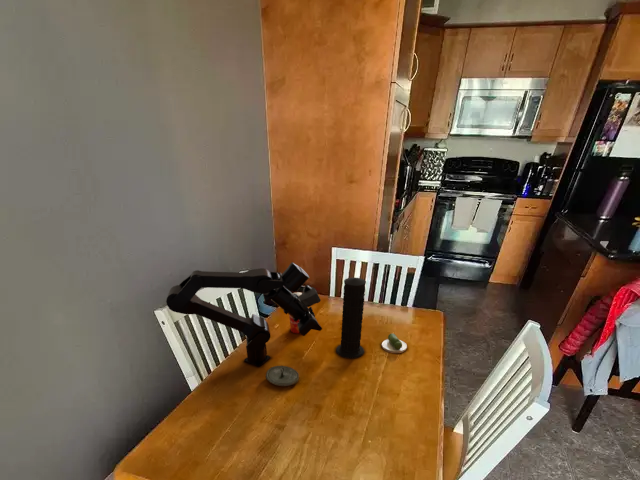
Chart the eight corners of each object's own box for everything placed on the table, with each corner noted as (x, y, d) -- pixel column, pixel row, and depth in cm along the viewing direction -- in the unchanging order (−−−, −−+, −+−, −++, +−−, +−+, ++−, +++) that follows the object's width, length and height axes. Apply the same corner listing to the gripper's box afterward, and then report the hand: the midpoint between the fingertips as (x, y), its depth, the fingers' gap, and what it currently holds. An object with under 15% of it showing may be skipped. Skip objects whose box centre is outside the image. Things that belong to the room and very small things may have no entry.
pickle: (410, 351, 129) (412, 342, 127) (386, 354, 128) (387, 345, 126) (401, 339, 136) (402, 330, 134) (378, 341, 135) (379, 332, 133)
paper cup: (285, 327, 143) (283, 293, 135) (303, 323, 146) (302, 290, 137) (292, 336, 137) (291, 301, 129) (311, 332, 140) (311, 298, 132)
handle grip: (364, 359, 125) (364, 344, 133) (371, 285, 109) (371, 273, 118) (335, 357, 126) (336, 342, 134) (338, 283, 110) (340, 271, 118)
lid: (264, 378, 118) (259, 367, 114) (291, 364, 120) (287, 353, 116) (276, 397, 110) (272, 386, 107) (305, 382, 113) (301, 371, 109)
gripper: (310, 294, 104) (345, 325, 112) (300, 271, 119) (332, 301, 127) (283, 321, 107) (320, 350, 115) (277, 296, 122) (309, 323, 130)
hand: (321, 329), depth 122 cm, fingers closed
